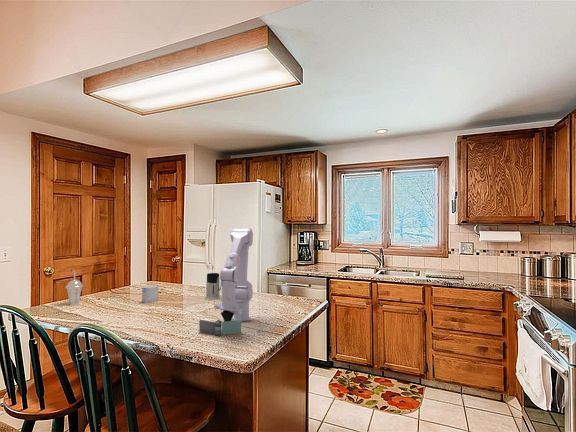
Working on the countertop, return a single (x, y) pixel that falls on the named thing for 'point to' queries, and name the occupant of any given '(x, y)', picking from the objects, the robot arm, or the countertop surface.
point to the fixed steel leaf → (210, 327)
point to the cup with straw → (74, 291)
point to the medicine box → (149, 294)
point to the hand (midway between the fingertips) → (228, 328)
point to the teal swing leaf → (229, 327)
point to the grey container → (212, 286)
